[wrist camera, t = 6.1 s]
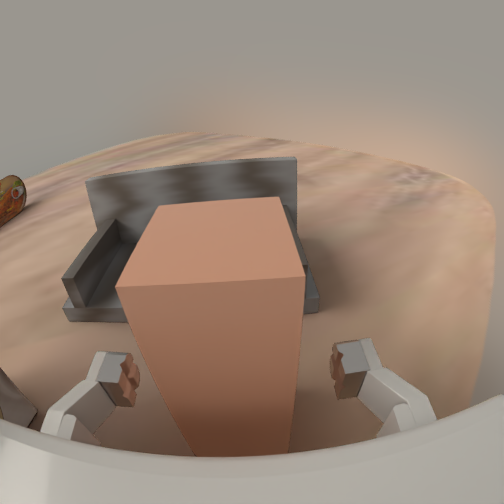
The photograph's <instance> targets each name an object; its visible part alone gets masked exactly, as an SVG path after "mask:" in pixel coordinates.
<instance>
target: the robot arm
mask: <svg viewBox="0 0 504 504" xmlns="http://www.w3.org/2000/svg"><path fill="white" fill-rule="evenodd" d="M332 351H333V355H332V356H331V357H330V373H331V377H332V378H333V379H334V380H335V385H334V388H335V392H336V396H337V399H338V400H339V399H346V398H353V397H357V398H358V399H359V400H360V401H361V402H362V403H363V404H364V405H365V406H366V407H367V408H368V409H369V410H370V411H371V412H373V413H374V414H375V415H376V416H377V417H378V418H379V419H380V420H381V421H382V422H383V423H384V424H383V426H382V427H381V429H380V430H379V432H378V433H377V435H376V437H377V438H375V439H371V440H366V441H362V442H357V443H353V444H348V445H342V446H337V447H331V448H325V449H319V450H312V451H304V452H296V453H287V454H276V455H263V456H244V457H192V456H173V455H160V454H150V453H141V452H133V451H125V450H119V449H112V448H106V447H101V443H100V442H99V441H98V440H97V439H96V438H95V437H94V436H93V434H94V432H95V431H96V430H97V429H98V428H99V427H100V425H101V424H102V423H103V422H104V421H105V420H106V419H107V417H108V416H109V415H110V414H111V413H112V412H113V410H114V409H115V408H116V406H120V407H134V404H135V400H136V395H137V394H136V393H135V391H134V390H135V389H136V388H137V387H138V386H139V382H140V373H139V369H138V367H137V365H136V364H134V363H133V357H132V355H131V353H120V352H106V351H98V352H96V354H95V356H94V358H93V361H92V364H91V366H90V369H89V371H88V374H87V377H86V380H82V381H81V382H80V383H78V384H77V385H76V386H75V387H74V388H73V389H71V390H70V391H69V392H68V393H67V394H65V395H64V396H63V397H62V398H61V399H60V400H58V401H57V402H56V403H55V404H54V405H52V406H51V407H50V408H49V409H48V411H47V414H46V417H45V419H44V422H43V425H42V428H41V431H40V432H38V431H35V430H32V429H29V428H26V427H23V426H20V425H17V424H14V423H11V422H8V421H6V420H3V419H0V504H504V394H500V395H497V396H494V397H492V398H490V399H488V400H486V401H484V402H481V403H479V404H477V405H475V406H472V407H470V408H467V409H465V410H463V411H460V412H458V413H455V414H452V415H450V416H447V417H444V418H442V419H439V420H437V418H436V416H435V413H434V411H433V409H432V406H431V404H430V402H429V399H428V397H427V396H426V395H425V394H424V393H422V392H421V391H419V390H418V389H416V388H415V387H414V386H412V385H411V384H409V383H408V382H406V381H405V380H404V379H402V378H401V377H399V376H398V375H397V374H395V373H394V372H392V371H391V370H390V369H388V368H387V367H386V368H383V366H382V364H381V361H380V359H379V356H378V354H377V352H376V349H375V347H374V345H373V342H372V340H371V339H370V338H366V339H359V340H351V341H344V342H337V343H334V344H333V347H332Z"/></svg>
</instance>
